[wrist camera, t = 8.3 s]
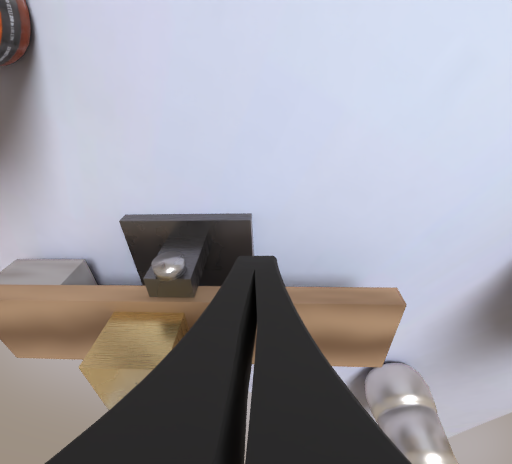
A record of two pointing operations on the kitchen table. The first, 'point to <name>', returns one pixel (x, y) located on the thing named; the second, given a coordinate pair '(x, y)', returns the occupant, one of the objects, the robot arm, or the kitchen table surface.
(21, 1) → the supplement bottle
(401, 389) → the plastic bottle
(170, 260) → the pivot stand
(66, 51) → the kitchen table surface
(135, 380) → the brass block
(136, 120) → the kitchen table surface
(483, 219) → the kitchen table surface
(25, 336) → the balance beam
